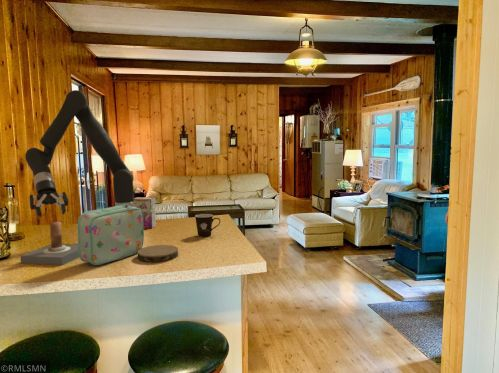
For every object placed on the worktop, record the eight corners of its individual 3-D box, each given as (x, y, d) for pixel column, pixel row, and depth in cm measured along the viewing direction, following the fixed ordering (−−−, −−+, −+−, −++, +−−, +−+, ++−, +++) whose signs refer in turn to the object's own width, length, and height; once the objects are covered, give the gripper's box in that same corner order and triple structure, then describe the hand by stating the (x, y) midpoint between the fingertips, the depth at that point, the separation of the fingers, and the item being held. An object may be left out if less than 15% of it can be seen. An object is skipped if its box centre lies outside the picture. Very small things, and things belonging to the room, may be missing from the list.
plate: (90, 251, 158) (90, 244, 158) (62, 265, 141) (62, 256, 140) (53, 250, 161) (52, 243, 161) (21, 263, 144) (20, 255, 143)
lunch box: (131, 248, 163) (128, 200, 161) (148, 251, 158) (145, 201, 155) (76, 265, 140) (72, 209, 138) (93, 269, 135) (89, 211, 132)
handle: (69, 247, 153) (67, 221, 152) (58, 251, 147) (57, 224, 146) (55, 247, 154) (53, 221, 153) (44, 251, 148) (42, 224, 147)
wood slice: (157, 265, 139) (157, 258, 139) (129, 259, 148) (128, 252, 147) (186, 255, 152) (186, 248, 152) (159, 249, 161) (158, 243, 160)
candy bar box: (133, 227, 204) (132, 198, 202) (138, 225, 209) (136, 197, 207) (152, 228, 201) (150, 198, 199) (156, 226, 206) (155, 197, 204)
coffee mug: (192, 236, 182) (191, 216, 180) (201, 232, 190) (200, 213, 188) (213, 238, 177) (213, 218, 176) (221, 234, 185) (221, 214, 184)
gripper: (26, 180, 154) (33, 211, 147) (63, 178, 163) (71, 206, 155) (25, 192, 159) (32, 222, 151) (62, 189, 168) (69, 217, 160)
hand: (52, 214), depth 153 cm, fingers open, 8 cm apart
